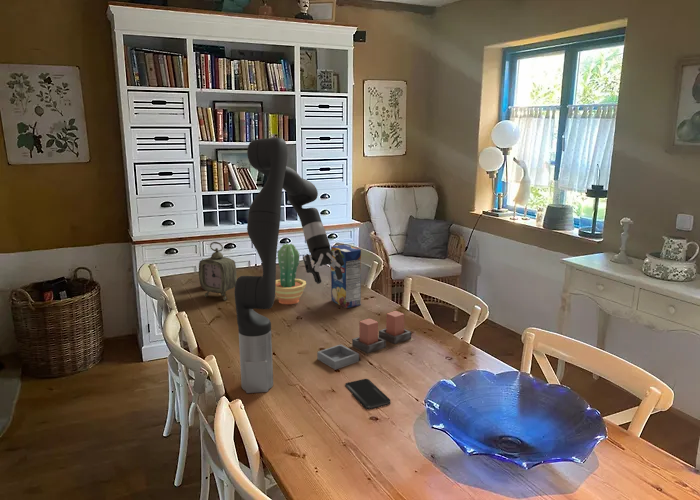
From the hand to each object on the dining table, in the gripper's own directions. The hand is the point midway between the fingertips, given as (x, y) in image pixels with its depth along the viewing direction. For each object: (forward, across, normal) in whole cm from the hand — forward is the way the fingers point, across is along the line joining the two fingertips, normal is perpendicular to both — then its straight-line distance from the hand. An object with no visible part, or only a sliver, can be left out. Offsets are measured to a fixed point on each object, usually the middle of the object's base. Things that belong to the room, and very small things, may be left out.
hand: (330, 281), depth 182 cm
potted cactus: (-6, +11, +52) cm, 54 cm away
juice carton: (+2, +29, +38) cm, 48 cm away
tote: (+26, -6, 0) cm, 27 cm away
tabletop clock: (-18, -11, +72) cm, 75 cm away
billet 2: (+24, +19, 0) cm, 31 cm away
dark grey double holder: (+26, +13, +1) cm, 29 cm away
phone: (+39, -12, -18) cm, 45 cm away
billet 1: (+25, +7, 0) cm, 26 cm away
